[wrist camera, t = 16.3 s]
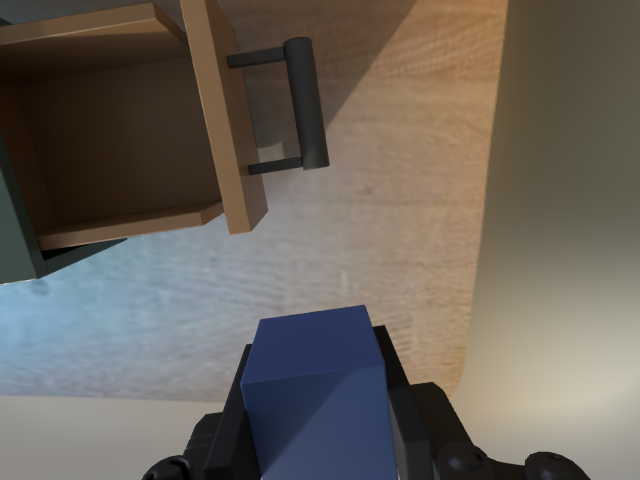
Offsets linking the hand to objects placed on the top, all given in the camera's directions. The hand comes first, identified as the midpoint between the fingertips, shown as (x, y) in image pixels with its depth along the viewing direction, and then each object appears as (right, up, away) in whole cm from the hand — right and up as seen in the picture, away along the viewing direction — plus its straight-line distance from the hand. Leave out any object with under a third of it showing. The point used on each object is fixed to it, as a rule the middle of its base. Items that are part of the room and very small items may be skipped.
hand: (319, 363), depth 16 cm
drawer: (-10, +13, +10) cm, 19 cm away
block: (0, 0, 0) cm, 0 cm away
